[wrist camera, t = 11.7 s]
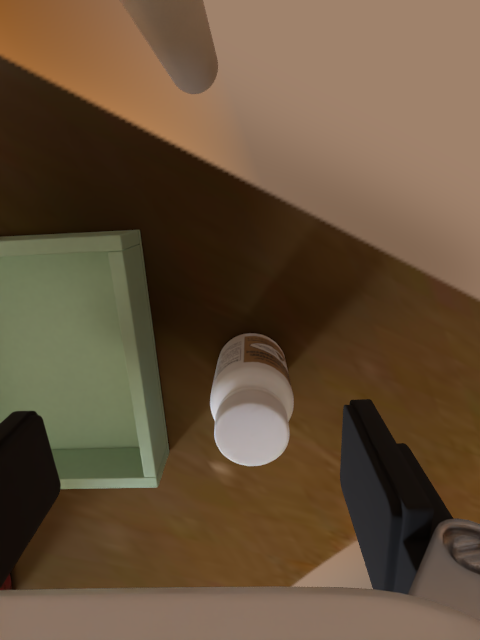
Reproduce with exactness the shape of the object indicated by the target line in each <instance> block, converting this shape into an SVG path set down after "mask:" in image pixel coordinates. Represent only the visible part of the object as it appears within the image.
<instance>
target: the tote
mask: <svg viewBox="0 0 480 640" xmlns="http://www.w3.org/2000/svg"><path fill="white" fill-rule="evenodd" d="M15 411H35V412H36V413H37V414H38V415H40V416H41V417H42V419H43V421H44V425H45V429H46V432H47V436H48V440H49V443H50V447H51V450H52V454H53V458H54V461H55V465H56V469H57V472H58V476H59V479H60V484H61V488H60V489H92V488H148V487H158V485H159V482H160V479H161V476H162V473H163V470H164V467H165V464H166V461H167V458H168V455H169V445H168V438H167V430H166V423H165V415H164V408H163V400H162V393H161V385H160V377H159V370H158V362H157V355H156V347H155V340H154V332H153V325H152V317H151V310H150V302H149V295H148V287H147V280H146V272H145V264H144V257H143V249H142V242H141V234H140V230H124V231H104V232H84V233H64V234H44V235H24V236H5V237H0V423H1V422H2V421H3V420H4V419H6V418H7V417H8V416H9V415H10V414H11V413H12V412H15Z"/></svg>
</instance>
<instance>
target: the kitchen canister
mask: <svg viewBox="0 0 480 640" xmlns="http://www.w3.org/2000/svg"><path fill="white" fill-rule="evenodd" d="M0 590H11V577H10V574H9V575H8V577H7V579H6V580H5V582H4V583H3V585H2V587H1V588H0Z"/></svg>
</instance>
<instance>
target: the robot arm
mask: <svg viewBox="0 0 480 640" xmlns="http://www.w3.org/2000/svg"><path fill="white" fill-rule="evenodd" d="M340 481H341V487H342V491H343V494H344V497H345V501H346V504H347V507H348V510H349V513H350V517H351V520H352V523H353V526H354V529H355V533H356V536H357V539H358V542H359V545H360V548H361V552H362V555H363V558H364V561H365V565H366V568H367V571H368V574H369V577H370V581H371V584H372V587H373V589H359V588H343V587H170V588H96V589H36V590H0V640H480V524H477V523H475V522H472V521H469V520H463V519H453V517H452V516H451V514H450V513H449V511H448V509H447V508H446V506H445V505H444V503H443V501H442V500H441V498H440V497H439V495H438V493H437V492H436V490H435V489H434V487H433V485H432V484H431V482H430V481H429V479H428V477H427V476H426V474H425V473H424V471H423V469H422V468H421V466H420V464H419V463H418V461H417V460H416V458H415V456H414V455H413V453H412V452H411V450H410V449H409V447H408V446H407V445H406V444H404V443H401V444H396V442H395V440H394V438H393V437H392V435H391V433H390V432H389V430H388V428H387V427H386V425H385V423H384V421H383V420H382V418H381V416H380V415H379V413H378V411H377V409H376V408H375V406H374V404H373V403H372V401H371V400H369V399H366V400H351V401H350V405H344V409H343V428H342V448H341V469H340ZM60 488H61V484H60V479H59V476H58V472H57V469H56V465H55V461H54V458H53V454H52V450H51V447H50V443H49V440H48V436H47V432H46V429H45V425H44V421H43V419H42V417H41V416H40V415H38V414H37V413H36V412H35V411H15V412H12V413H11V414H10V415H9V416H8V417H7V418H6V419H4V420H3V421H2V422H1V423H0V588H1V587H2V585H3V583H4V582H5V580H6V579H7V577H8V575H9V574H10V572H11V571H12V569H13V567H14V566H15V564H16V563H17V561H18V559H19V558H20V556H21V555H22V553H23V551H24V550H25V548H26V547H27V545H28V543H29V542H30V540H31V539H32V537H33V535H34V534H35V532H36V531H37V529H38V527H39V526H40V524H41V523H42V521H43V519H44V518H45V516H46V515H47V513H48V511H49V510H50V508H51V507H52V505H53V503H54V502H55V500H56V498H57V497H58V495H59V492H60Z"/></svg>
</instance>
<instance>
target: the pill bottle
mask: <svg viewBox="0 0 480 640" xmlns="http://www.w3.org/2000/svg"><path fill="white" fill-rule="evenodd" d="M293 407H294V399H293V393H292V388H291V383H290V378H289V374H288V369H287V365H286V360H285V356H284V353H283V351H282V350H281V348H280V347H279V346H278V344H277V343H276V342H275V341H273V340H272V339H270V338H269V337H267V336H264V335H261V334H256V333H247V334H242V335H239V336H236V337H234V338H233V339H231V340H230V341H229V342H228V343H227V344H226V345H225V346H224V347H223V349H222V350H221V352H220V355H219V358H218V362H217V366H216V371H215V376H214V381H213V386H212V390H211V397H210V408H211V413H212V416H213V418H214V420H215V428H214V437H215V442H216V444H217V446H218V448H219V450H220V451H221V452H222V454H223V455H224V456H225V457H227V458H228V459H230V460H231V461H233V462H235V463H238V464H241V465H246V466H260V465H264V464H267V463H269V462H271V461H273V460H275V459H276V458H278V457H279V456H280V455H281V454H282V453H283V452H284V450H285V448H286V447H287V444H288V441H289V424H288V421H289V419H290V417H291V415H292V412H293Z"/></svg>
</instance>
